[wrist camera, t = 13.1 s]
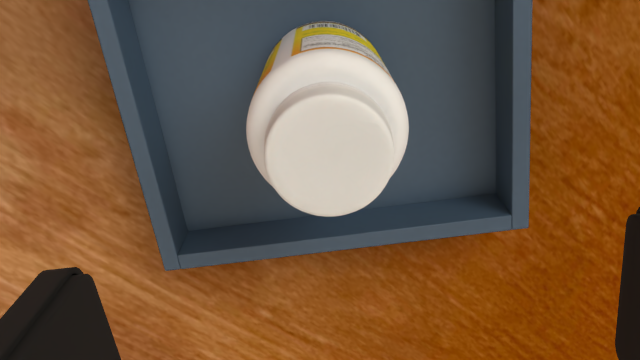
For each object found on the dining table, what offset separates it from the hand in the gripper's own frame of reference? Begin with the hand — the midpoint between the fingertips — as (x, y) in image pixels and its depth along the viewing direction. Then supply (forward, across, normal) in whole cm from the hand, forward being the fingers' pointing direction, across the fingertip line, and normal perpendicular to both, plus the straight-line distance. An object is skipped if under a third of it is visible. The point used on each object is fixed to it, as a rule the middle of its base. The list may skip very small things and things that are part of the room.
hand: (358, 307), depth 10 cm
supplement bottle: (+18, +1, 0) cm, 18 cm away
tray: (+18, +1, 0) cm, 18 cm away
